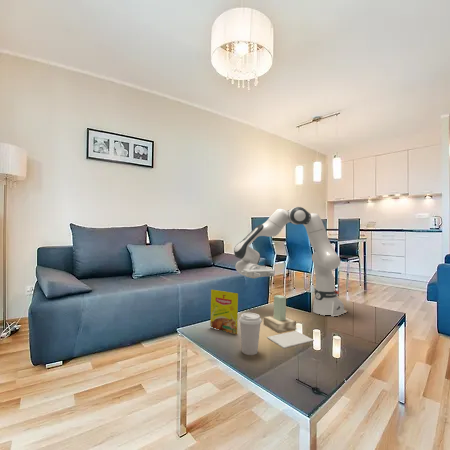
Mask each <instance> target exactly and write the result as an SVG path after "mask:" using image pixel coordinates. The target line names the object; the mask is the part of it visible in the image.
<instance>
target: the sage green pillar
mask: <svg viewBox="0 0 450 450" xmlns="http://www.w3.org/2000/svg"><path fill="white" fill-rule="evenodd" d="M286 312H287V297H286V296H283V295H282V294H281V295H280V294H277V295H276V294H275V295H274V296H273V316H274V319H276V320H278V321H283V320H286V317H287V316H286V315H287V313H286Z"/></svg>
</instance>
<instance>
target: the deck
mask: <svg viewBox="0 0 450 450" xmlns="http://www.w3.org/2000/svg"><path fill="white" fill-rule="evenodd" d="M263 326H265V327H267V328H269V329H270V330H272V331H274V332H276V333H282V332H286V331H288V332H289V331H292V330H296V329H297V321H296V320H294V319H292V318H290V317H288V316H286V320H283V321H278V320H276V319H274V315H269V316H263Z"/></svg>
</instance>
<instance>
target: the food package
mask: <svg viewBox="0 0 450 450" xmlns="http://www.w3.org/2000/svg"><path fill="white" fill-rule="evenodd" d="M238 309H239V293H238V292H231V291H224V290H217V289H210V325H209V326H211V327H213V328H216V329H219V330H222V331H221V332H224V331H226V332H225V333H228V332H229V334H232V335H238V321H239V317H238V316H239V315H238V314H239V313H238V312H239V310H238ZM219 330H218V331H219Z"/></svg>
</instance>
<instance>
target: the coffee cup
mask: <svg viewBox="0 0 450 450" xmlns="http://www.w3.org/2000/svg"><path fill="white" fill-rule="evenodd" d="M238 321H239V323H240V340H241V342H240V343H241V353H243V354H244V355H246V356H255V355H257V354H258V353H259V352H258V350H259V342H260V341H259V339H260V331H261V323H263V322H262V318H261V315H260V314H259V313H255V312H243V313H241V315H240V317H238Z"/></svg>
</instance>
